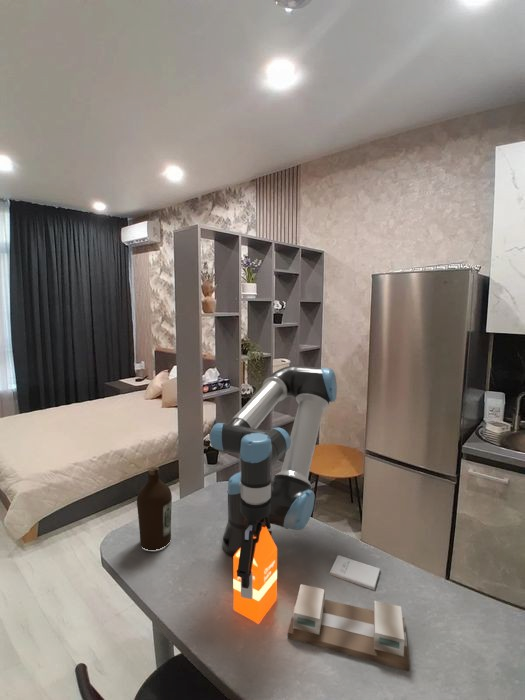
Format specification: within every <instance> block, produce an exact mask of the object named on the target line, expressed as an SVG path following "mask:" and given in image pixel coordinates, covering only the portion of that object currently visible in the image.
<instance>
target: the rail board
mask: <svg viewBox="0 0 525 700" xmlns="http://www.w3.org/2000/svg"><path fill="white" fill-rule="evenodd" d="M295 598H296V599H295V602H294V607H293V610H292V615H291V619H290V623H289V625H288V631H287V639H288V640H292V641H294V642H295V641H296V642H300V643H303V644H307V645H311V646H315V647H318V648H322V649H326V650H330V651H332V652H333V651H334V652H337V653H340V654H345V655H347V656H352V657H356V658H359V659H363V660H366V661H367V660H368V661H370V662H375V663H379V664H382V665H385V666H389V667H393V668H397V669H401V670H405V671H410V658H409V657H410V656H409V650H408V641H407V631H406V624H405V622H406V621H405V617H403V613H402V606H401V605H396V604H392V603H386V602H382V601H377V600H374V607H373V610H372V609H367V608H364V607H359V606H354V605H350V604H346V603H341V602H337V601H334V600H328V599H325V589H323V588H319V587H316V586H315V587H314V586H311V585H305V584H300V586H299V589H298V593H297V595H296V597H295Z"/></svg>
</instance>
